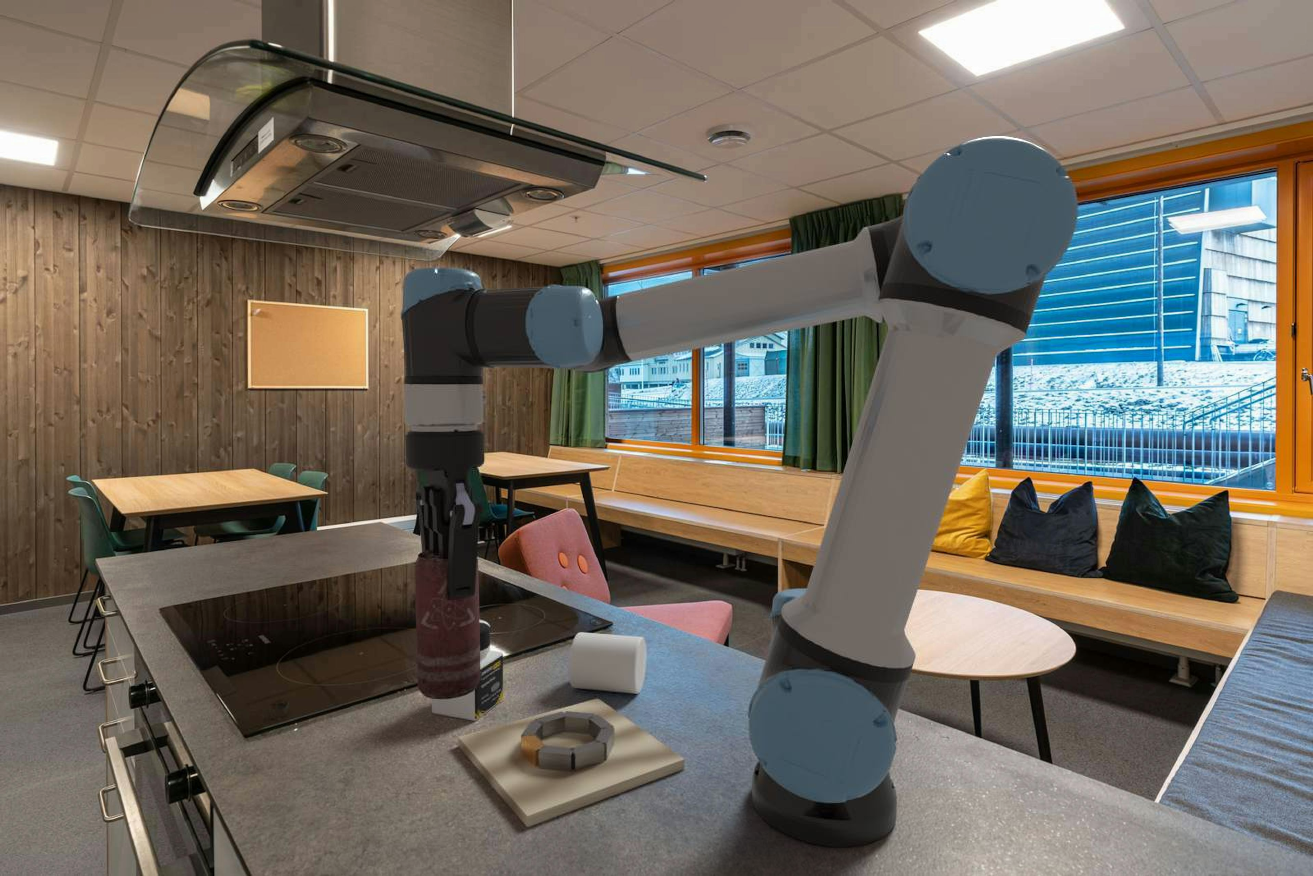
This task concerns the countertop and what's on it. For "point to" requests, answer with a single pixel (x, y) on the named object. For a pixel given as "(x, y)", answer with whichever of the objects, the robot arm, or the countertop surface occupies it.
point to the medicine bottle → (487, 689)
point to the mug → (607, 662)
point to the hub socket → (565, 756)
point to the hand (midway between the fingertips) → (450, 660)
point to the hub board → (562, 791)
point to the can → (445, 633)
